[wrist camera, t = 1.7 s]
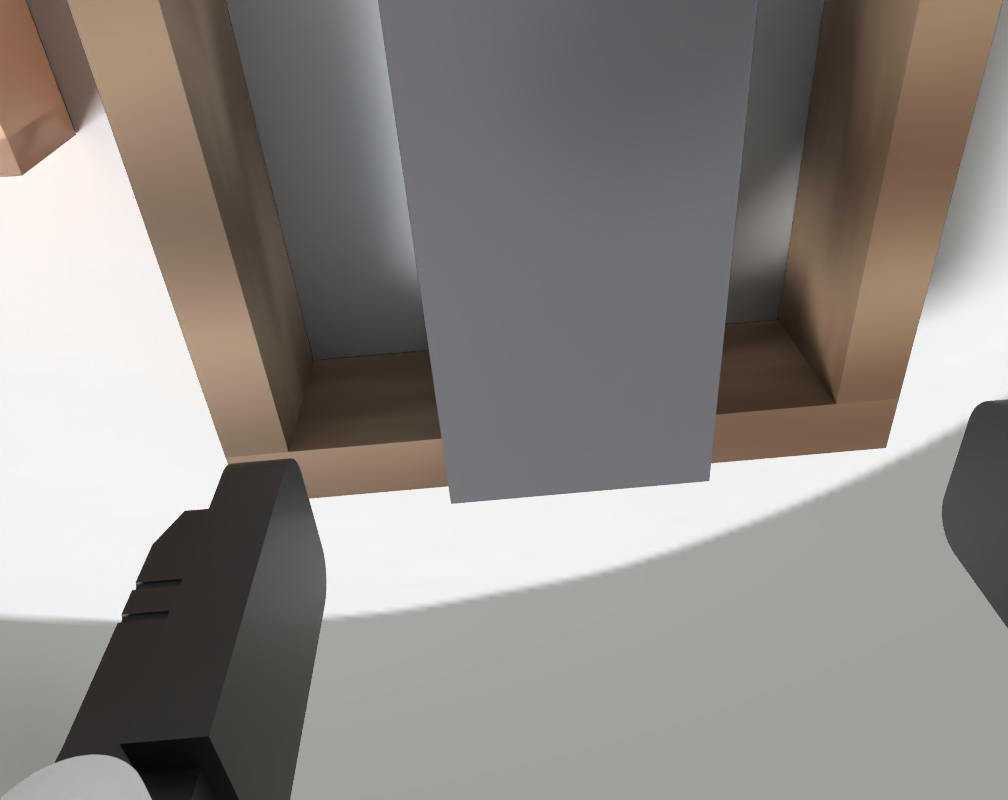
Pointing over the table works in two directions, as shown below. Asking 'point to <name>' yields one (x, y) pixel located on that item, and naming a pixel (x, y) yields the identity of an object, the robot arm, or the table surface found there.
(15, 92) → the tray
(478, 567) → the table surface
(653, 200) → the grey rectangular prism
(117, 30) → the bay
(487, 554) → the table surface
